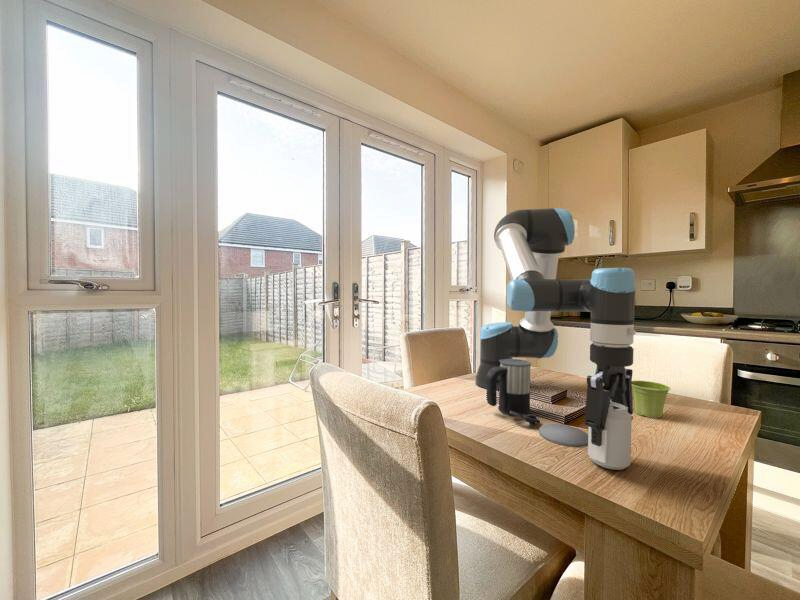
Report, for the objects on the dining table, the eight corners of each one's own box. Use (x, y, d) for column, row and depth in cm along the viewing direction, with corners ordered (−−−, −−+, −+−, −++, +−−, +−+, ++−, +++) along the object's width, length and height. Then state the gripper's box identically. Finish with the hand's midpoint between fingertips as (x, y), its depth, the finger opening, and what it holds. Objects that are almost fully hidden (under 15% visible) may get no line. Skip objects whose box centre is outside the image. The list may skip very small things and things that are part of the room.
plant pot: (655, 409, 102) (656, 380, 102) (677, 421, 92) (678, 390, 92) (622, 408, 103) (622, 380, 102) (641, 420, 93) (641, 389, 93)
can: (634, 462, 70) (635, 404, 70) (625, 476, 65) (626, 414, 64) (594, 449, 75) (595, 396, 75) (582, 462, 70) (583, 404, 70)
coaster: (530, 433, 85) (530, 429, 85) (556, 423, 91) (556, 420, 91) (572, 450, 76) (572, 447, 76) (598, 438, 82) (598, 435, 82)
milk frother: (511, 403, 107) (511, 357, 107) (559, 419, 95) (560, 366, 94) (481, 413, 99) (481, 362, 98) (529, 431, 86) (530, 373, 86)
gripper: (604, 352, 60) (602, 478, 61) (654, 342, 71) (651, 449, 72) (564, 346, 67) (562, 460, 68) (616, 337, 78) (614, 436, 79)
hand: (608, 454), depth 70 cm, fingers closed on can, 7 cm apart
